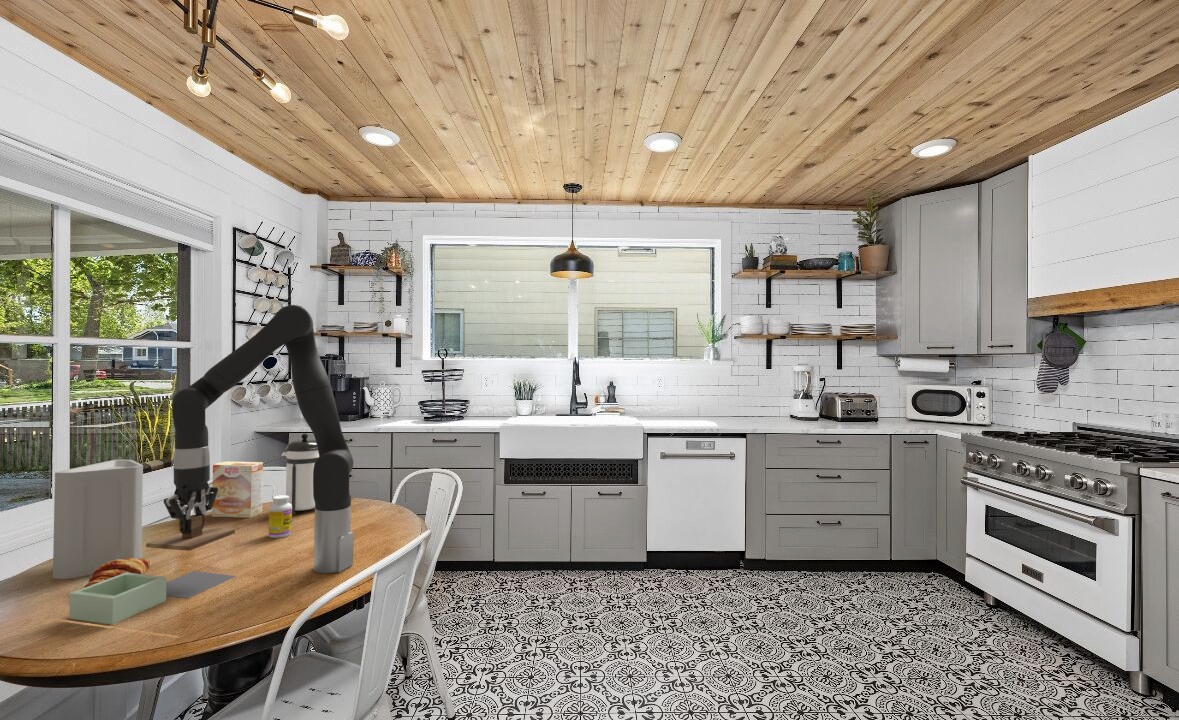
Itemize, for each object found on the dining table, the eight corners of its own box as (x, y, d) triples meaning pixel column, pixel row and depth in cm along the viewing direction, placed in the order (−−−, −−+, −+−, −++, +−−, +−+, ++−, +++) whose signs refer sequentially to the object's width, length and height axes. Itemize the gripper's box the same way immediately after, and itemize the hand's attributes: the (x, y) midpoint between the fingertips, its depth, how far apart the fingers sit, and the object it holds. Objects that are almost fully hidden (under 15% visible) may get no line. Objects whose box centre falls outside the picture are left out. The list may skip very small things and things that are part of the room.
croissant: (137, 580, 148) (123, 555, 148) (172, 562, 149) (158, 537, 149) (73, 615, 127) (56, 586, 127) (114, 594, 128) (98, 565, 128)
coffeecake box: (210, 517, 196) (211, 464, 196) (224, 511, 203) (225, 460, 203) (250, 518, 196) (251, 465, 196) (262, 512, 203) (263, 461, 203)
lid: (234, 533, 142) (234, 511, 142) (189, 550, 130) (189, 526, 130) (194, 530, 145) (194, 508, 145) (146, 547, 132) (146, 523, 132)
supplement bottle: (284, 538, 174) (284, 499, 174) (264, 538, 174) (264, 499, 174) (295, 532, 180) (296, 494, 180) (276, 531, 181) (277, 494, 181)
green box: (166, 602, 128) (166, 577, 128) (112, 626, 116) (112, 598, 116) (126, 596, 130) (126, 572, 130) (69, 619, 119) (69, 593, 119)
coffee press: (310, 517, 197) (311, 436, 197) (271, 514, 200) (273, 435, 200) (339, 505, 214) (340, 431, 215) (303, 502, 217) (304, 429, 217)
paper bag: (107, 578, 141) (109, 473, 141) (50, 578, 140) (52, 472, 140) (164, 552, 160) (165, 460, 160) (113, 552, 159) (115, 459, 160)
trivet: (236, 577, 143) (236, 575, 143) (187, 600, 129) (187, 598, 129) (193, 572, 146) (193, 571, 146) (141, 594, 132) (141, 592, 132)
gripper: (178, 470, 130) (178, 541, 130) (227, 460, 143) (228, 523, 143) (152, 469, 131) (153, 539, 131) (204, 459, 145) (204, 522, 145)
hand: (192, 530), depth 137 cm, fingers closed on lid, 3 cm apart
